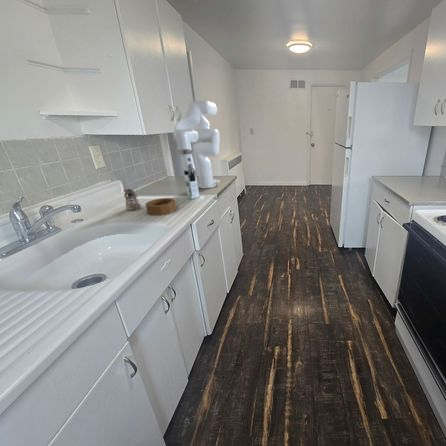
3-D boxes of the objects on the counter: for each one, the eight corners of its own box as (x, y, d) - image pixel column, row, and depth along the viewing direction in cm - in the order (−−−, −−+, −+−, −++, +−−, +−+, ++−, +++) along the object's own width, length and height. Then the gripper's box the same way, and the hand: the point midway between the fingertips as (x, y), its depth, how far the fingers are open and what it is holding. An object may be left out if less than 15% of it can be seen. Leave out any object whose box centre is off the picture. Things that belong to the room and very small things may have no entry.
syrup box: (187, 197, 166) (183, 175, 160) (196, 195, 170) (192, 173, 164) (191, 199, 162) (187, 176, 156) (200, 197, 166) (196, 175, 160)
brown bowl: (172, 204, 153) (171, 196, 151) (179, 210, 142) (178, 202, 140) (145, 209, 144) (143, 201, 142) (151, 217, 134) (148, 208, 132)
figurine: (143, 208, 147) (138, 188, 142) (130, 211, 142) (124, 191, 137) (137, 205, 151) (132, 186, 146) (124, 209, 145) (118, 189, 141)
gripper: (196, 152, 150) (201, 181, 157) (187, 150, 163) (192, 176, 169) (183, 154, 146) (188, 183, 152) (175, 151, 158) (180, 178, 165)
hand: (190, 179), depth 161 cm, fingers open, 9 cm apart
